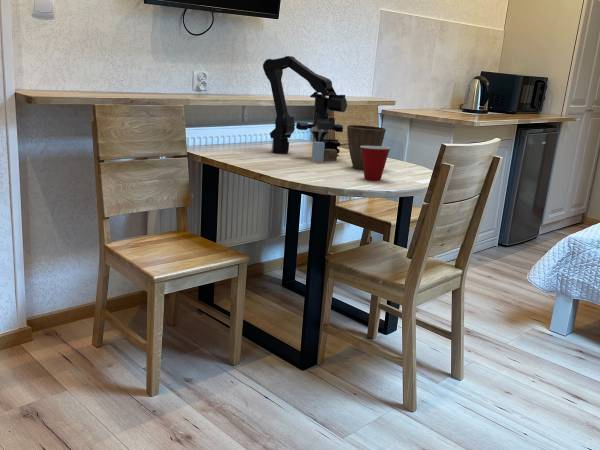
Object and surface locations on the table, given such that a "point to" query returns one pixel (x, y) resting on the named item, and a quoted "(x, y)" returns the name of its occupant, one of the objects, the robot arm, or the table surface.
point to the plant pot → (362, 141)
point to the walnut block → (330, 154)
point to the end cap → (331, 144)
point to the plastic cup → (374, 161)
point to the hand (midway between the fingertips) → (317, 147)
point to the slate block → (317, 152)
